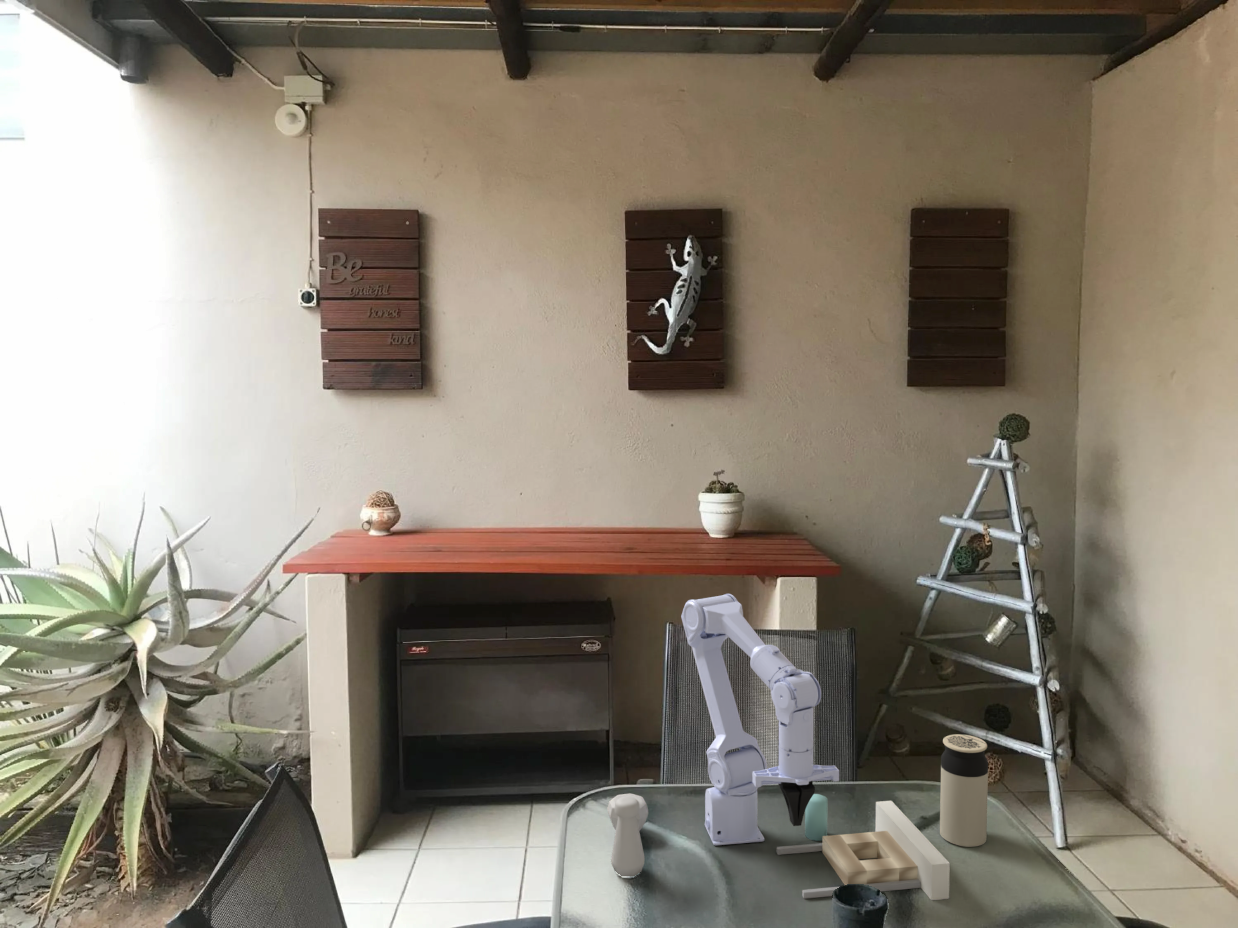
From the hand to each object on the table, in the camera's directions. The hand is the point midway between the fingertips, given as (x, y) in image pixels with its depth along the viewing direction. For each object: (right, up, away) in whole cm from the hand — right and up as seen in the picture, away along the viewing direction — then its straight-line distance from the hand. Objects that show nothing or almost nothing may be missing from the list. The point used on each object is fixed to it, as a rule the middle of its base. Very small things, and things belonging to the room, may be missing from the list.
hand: (795, 822), depth 155 cm
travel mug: (+33, -8, +12) cm, 36 cm away
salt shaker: (-28, -9, +2) cm, 30 cm away
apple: (-28, -8, +16) cm, 33 cm away
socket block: (+13, -9, +2) cm, 16 cm away
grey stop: (+10, -9, +2) cm, 14 cm away
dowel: (+6, -8, +13) cm, 17 cm away
